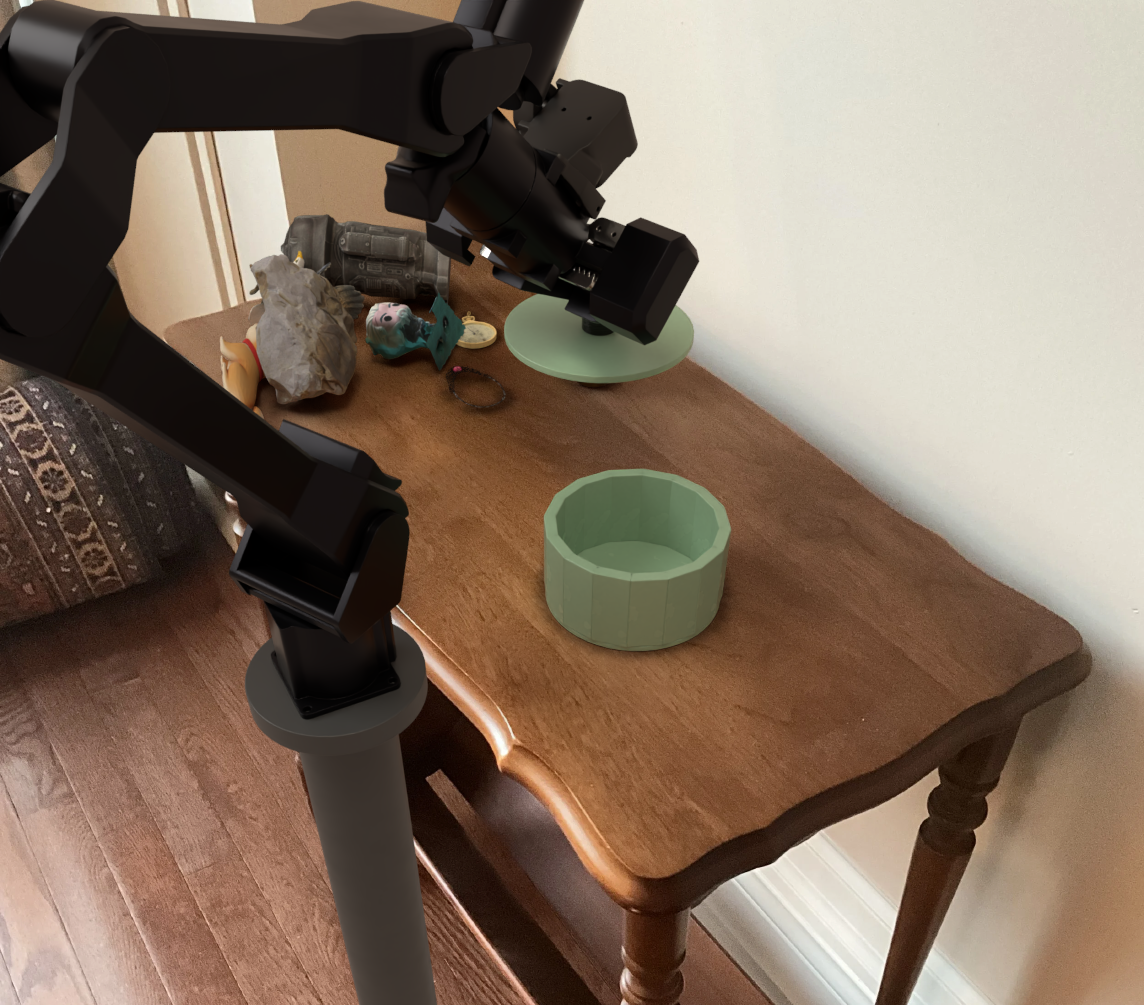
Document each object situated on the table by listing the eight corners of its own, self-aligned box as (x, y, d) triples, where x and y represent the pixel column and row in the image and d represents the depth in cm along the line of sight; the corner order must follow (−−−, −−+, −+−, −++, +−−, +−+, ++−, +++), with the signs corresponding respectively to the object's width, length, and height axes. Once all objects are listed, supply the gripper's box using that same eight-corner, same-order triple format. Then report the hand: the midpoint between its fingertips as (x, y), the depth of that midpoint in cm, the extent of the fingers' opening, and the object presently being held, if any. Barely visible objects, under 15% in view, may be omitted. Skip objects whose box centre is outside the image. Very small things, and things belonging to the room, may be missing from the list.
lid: (614, 413, 74) (619, 322, 70) (465, 347, 80) (460, 259, 75) (729, 337, 81) (740, 250, 77) (584, 281, 87) (586, 197, 82)
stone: (383, 404, 99) (346, 372, 89) (303, 431, 100) (258, 402, 90) (345, 274, 98) (305, 227, 88) (266, 302, 99) (217, 259, 89)
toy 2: (448, 315, 110) (285, 299, 108) (452, 251, 109) (288, 233, 107) (447, 289, 101) (271, 271, 100) (451, 219, 101) (274, 200, 99)
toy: (218, 339, 101) (277, 343, 102) (226, 460, 91) (292, 462, 92) (217, 303, 99) (277, 307, 100) (225, 423, 88) (293, 425, 90)
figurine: (383, 280, 89) (306, 300, 93) (428, 393, 94) (353, 408, 98) (447, 231, 98) (374, 251, 101) (485, 337, 103) (414, 353, 106)
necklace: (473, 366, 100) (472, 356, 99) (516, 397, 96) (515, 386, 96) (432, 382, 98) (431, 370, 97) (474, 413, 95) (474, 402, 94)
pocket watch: (500, 346, 103) (500, 341, 102) (456, 351, 102) (456, 346, 101) (487, 313, 106) (487, 308, 106) (444, 318, 106) (444, 312, 105)
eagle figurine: (295, 245, 105) (373, 270, 102) (283, 327, 108) (359, 354, 105) (234, 234, 99) (316, 261, 95) (223, 321, 101) (302, 350, 98)
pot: (597, 673, 74) (600, 601, 70) (515, 568, 82) (513, 497, 77) (754, 617, 78) (766, 546, 74) (662, 521, 85) (668, 451, 81)
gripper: (694, 86, 60) (786, 235, 74) (445, 8, 69) (570, 155, 82) (588, 285, 62) (697, 394, 76) (359, 186, 70) (495, 301, 84)
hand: (613, 304), depth 80 cm, fingers closed on lid, 2 cm apart
